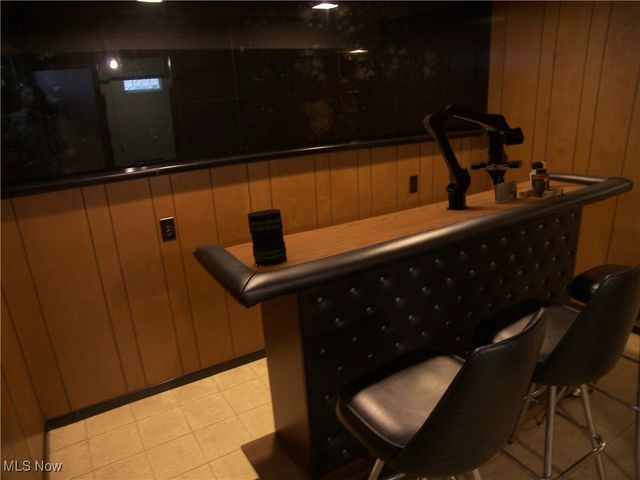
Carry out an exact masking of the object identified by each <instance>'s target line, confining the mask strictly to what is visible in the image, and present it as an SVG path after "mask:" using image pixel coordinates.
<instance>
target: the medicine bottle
mask: <svg viewBox="0 0 640 480" xmlns="http://www.w3.org/2000/svg"><path fill="white" fill-rule="evenodd" d="M530 167H531V172H529V189H534V187H533V176H534V175H535V174H536V169H541V168H546V169H547V162H546V161H534V162H532V163H531V166H530ZM547 173H548V174H549V175H550V173H549V172H548V171H547Z"/></svg>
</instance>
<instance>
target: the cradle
mask: <svg viewBox="0 0 640 480" xmlns="http://www.w3.org/2000/svg"><path fill="white" fill-rule="evenodd" d="M561 194H563V195H564V188H556V187H555V188H554V187H550V191H549V192H545V193H543V197H542V200H547V199H546V198H549V197H553V196H556V197H558V196H557V195H560V196H562V195H561ZM532 196H533V197H534V189H531V188H529V189H527V190H523V191H519V192H518V198H521V199H524V198H528V197H532ZM553 198H554V197H553ZM549 199H550V198H549Z"/></svg>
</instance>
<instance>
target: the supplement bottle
mask: <svg viewBox="0 0 640 480" xmlns="http://www.w3.org/2000/svg"><path fill="white" fill-rule="evenodd" d="M547 172H548V170H547V167H546V168H541V169H536V174H535V175H534V176H533V187H534V195H533V197H535V198H543V193H545V192H549V191H550V188H551V187H550V173H549V172H548V173H549V174H548V173H547Z"/></svg>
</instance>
